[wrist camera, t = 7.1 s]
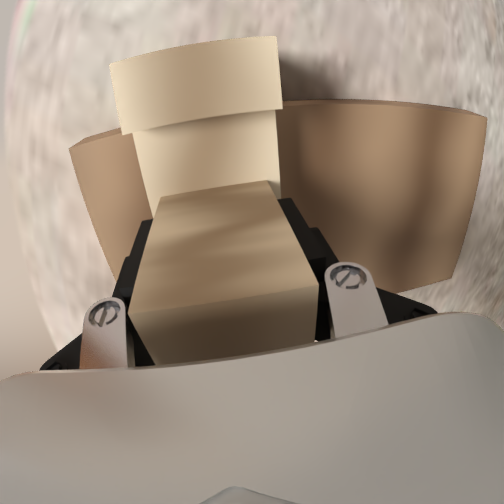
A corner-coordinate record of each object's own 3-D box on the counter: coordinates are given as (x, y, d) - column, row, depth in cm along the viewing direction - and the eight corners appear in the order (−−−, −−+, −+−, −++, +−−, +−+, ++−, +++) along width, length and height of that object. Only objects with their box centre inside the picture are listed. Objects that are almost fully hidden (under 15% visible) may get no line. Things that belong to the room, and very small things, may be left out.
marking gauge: (254, 48, 11) (343, 4, 3) (275, 298, 19) (313, 434, 11) (140, 66, 10) (22, 65, 3) (197, 310, 19) (202, 451, 11)
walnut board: (465, 110, 13) (487, 117, 12) (437, 262, 20) (451, 278, 19) (84, 138, 12) (68, 148, 10) (147, 315, 19) (143, 337, 17)
